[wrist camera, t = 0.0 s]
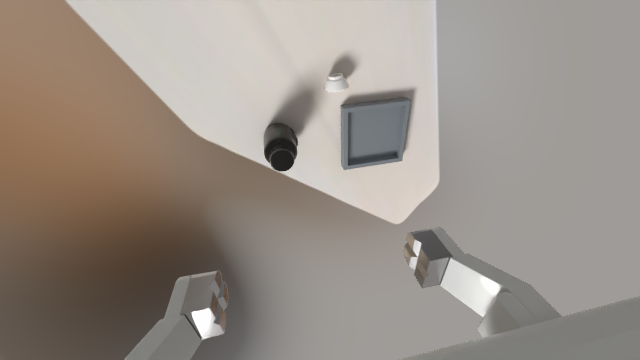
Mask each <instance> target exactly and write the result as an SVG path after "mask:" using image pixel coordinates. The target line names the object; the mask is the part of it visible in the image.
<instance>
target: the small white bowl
mask: <svg viewBox="0 0 640 360" xmlns="http://www.w3.org/2000/svg"><path fill="white" fill-rule="evenodd" d="M348 86H349V85H348V83H347V81H346V79H345V78H344V77H343V74H341V73H336V74H331V75H329V76H328V79H327V81H326V84H325V87H324V89H325V90H326V91H328V92H340V91H343V90H345V89H347V88H348Z"/></svg>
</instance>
